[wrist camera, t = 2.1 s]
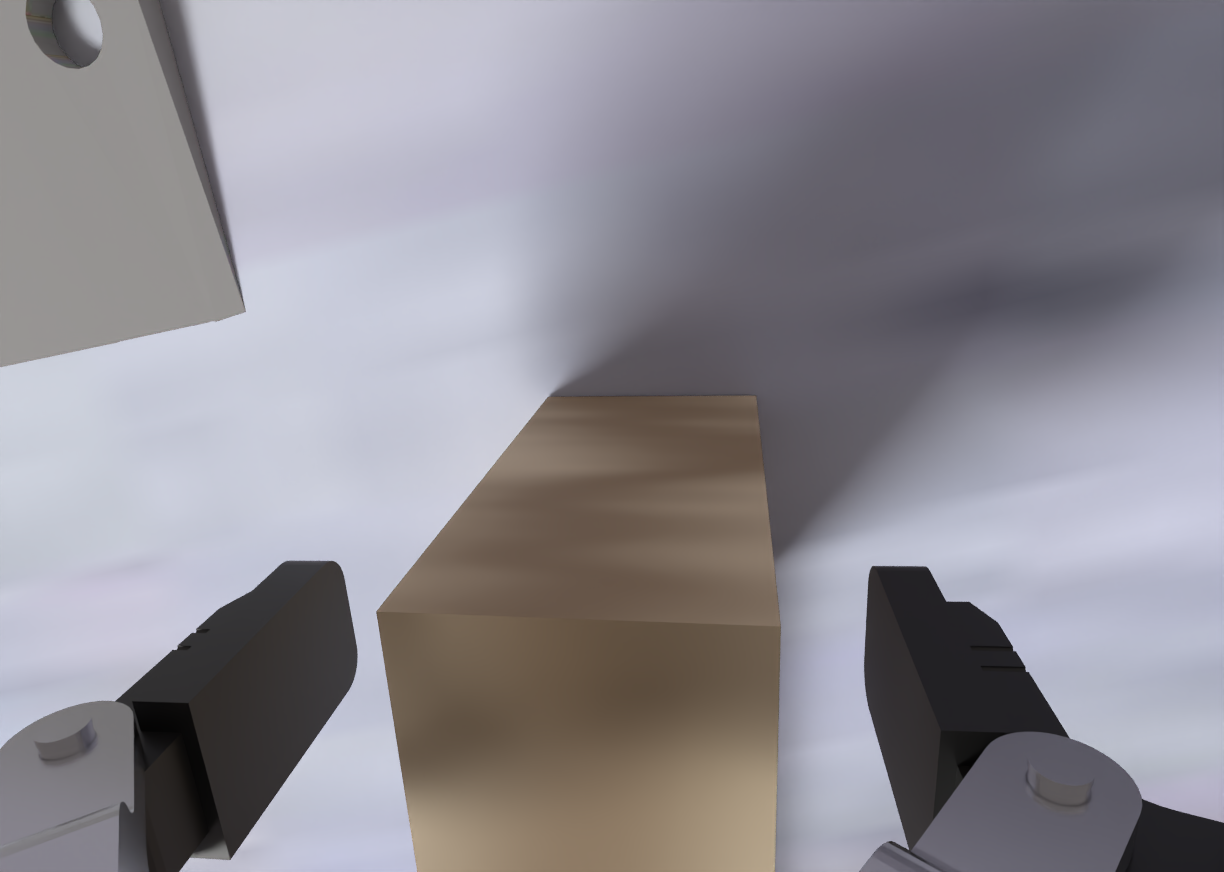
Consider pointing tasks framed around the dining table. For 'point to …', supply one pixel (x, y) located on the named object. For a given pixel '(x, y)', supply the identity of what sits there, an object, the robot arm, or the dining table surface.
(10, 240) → the kitchen cleaver
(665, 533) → the wooden mallet
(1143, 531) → the dining table surface
